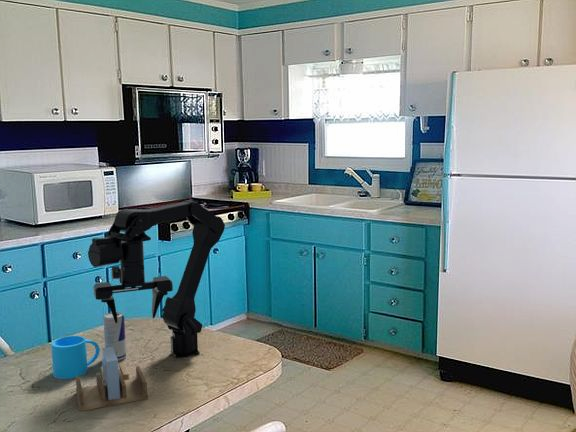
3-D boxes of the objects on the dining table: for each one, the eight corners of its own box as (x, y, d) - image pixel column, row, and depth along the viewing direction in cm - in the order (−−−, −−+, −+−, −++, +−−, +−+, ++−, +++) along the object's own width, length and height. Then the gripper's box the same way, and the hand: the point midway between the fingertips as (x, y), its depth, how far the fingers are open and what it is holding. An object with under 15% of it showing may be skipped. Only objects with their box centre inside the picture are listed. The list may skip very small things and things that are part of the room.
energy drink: (130, 355, 161) (128, 313, 159) (118, 362, 156) (116, 319, 154) (113, 353, 163) (111, 311, 161) (101, 360, 158) (99, 317, 156)
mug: (60, 381, 145) (58, 349, 144) (48, 371, 151) (46, 341, 150) (107, 368, 153) (105, 337, 152) (93, 359, 159) (91, 330, 158)
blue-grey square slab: (114, 382, 142) (112, 346, 140) (120, 398, 134) (117, 360, 132) (103, 384, 141) (101, 348, 139) (108, 400, 133) (106, 361, 131)
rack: (140, 381, 145) (139, 365, 144) (147, 398, 136) (147, 381, 135) (76, 392, 139) (75, 376, 138) (79, 411, 130) (78, 393, 129)
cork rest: (124, 369, 152) (123, 362, 152) (129, 381, 145) (128, 374, 144) (101, 373, 150) (100, 366, 149) (104, 386, 142) (104, 378, 142)
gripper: (162, 250, 159) (165, 307, 161) (89, 257, 152) (93, 316, 154) (172, 259, 149) (174, 319, 151) (94, 266, 141) (97, 329, 144)
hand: (135, 320), depth 150 cm, fingers open, 9 cm apart
